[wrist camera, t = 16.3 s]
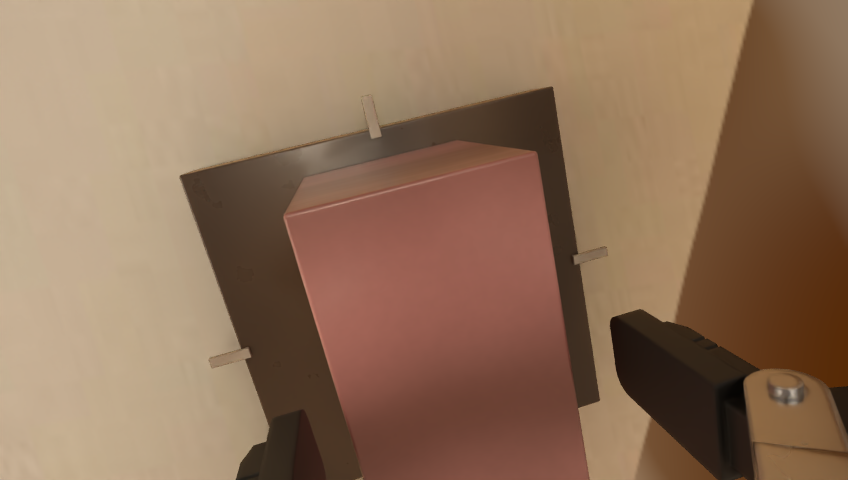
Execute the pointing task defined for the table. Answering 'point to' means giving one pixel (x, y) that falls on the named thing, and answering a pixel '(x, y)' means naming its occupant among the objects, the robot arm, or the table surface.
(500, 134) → the brown square platform
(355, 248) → the pink rectangular block
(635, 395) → the robot arm
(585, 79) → the table surface
